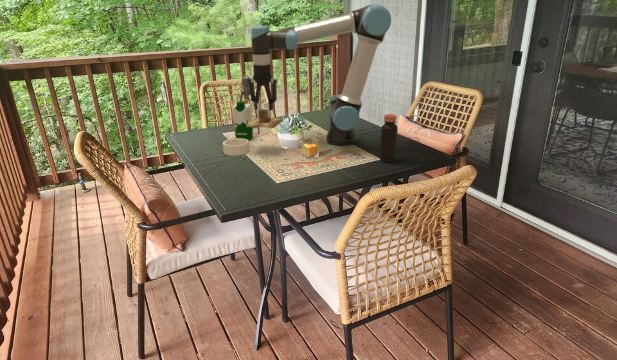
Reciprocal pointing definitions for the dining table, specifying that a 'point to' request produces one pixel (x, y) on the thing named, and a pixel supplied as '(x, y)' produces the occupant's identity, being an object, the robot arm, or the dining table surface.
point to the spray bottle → (247, 93)
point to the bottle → (388, 139)
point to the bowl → (236, 147)
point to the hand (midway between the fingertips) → (264, 116)
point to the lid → (264, 121)
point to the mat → (268, 151)
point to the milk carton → (242, 120)
